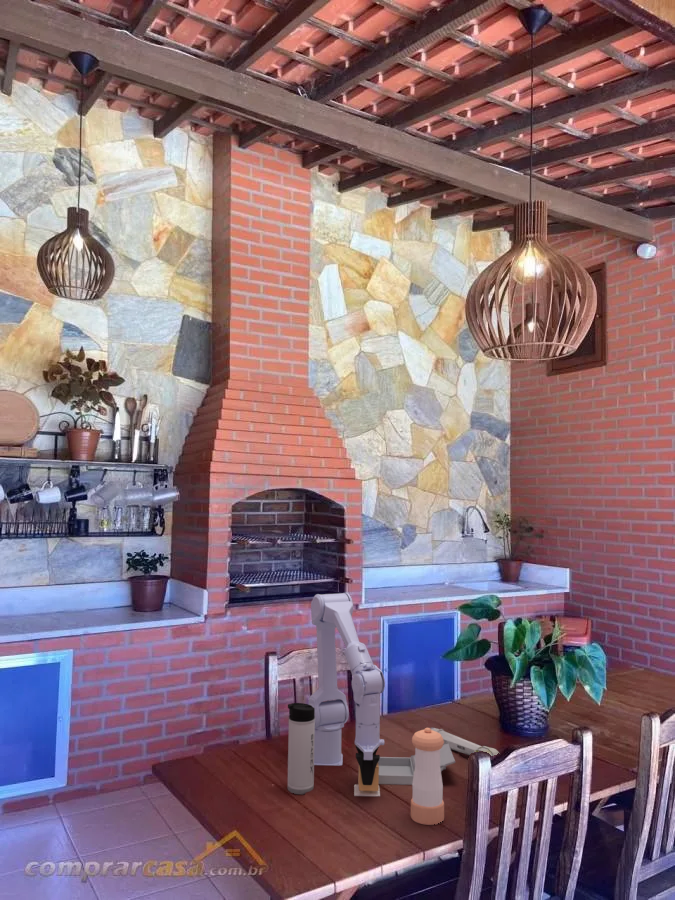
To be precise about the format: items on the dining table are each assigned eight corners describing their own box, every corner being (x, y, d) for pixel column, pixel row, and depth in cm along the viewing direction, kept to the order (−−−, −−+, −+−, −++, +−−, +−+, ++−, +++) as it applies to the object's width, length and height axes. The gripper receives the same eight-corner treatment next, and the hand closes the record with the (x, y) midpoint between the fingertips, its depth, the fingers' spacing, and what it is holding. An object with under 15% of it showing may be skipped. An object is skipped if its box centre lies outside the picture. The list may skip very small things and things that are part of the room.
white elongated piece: (436, 742, 202) (506, 767, 182) (420, 747, 198) (490, 773, 178) (436, 723, 202) (506, 746, 183) (420, 728, 198) (489, 752, 178)
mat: (354, 797, 163) (354, 795, 163) (354, 787, 169) (354, 784, 169) (380, 798, 163) (380, 795, 163) (379, 787, 169) (379, 785, 169)
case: (374, 787, 169) (375, 760, 169) (373, 766, 182) (373, 741, 182) (455, 788, 168) (456, 762, 169) (448, 768, 181) (448, 743, 182)
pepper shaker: (403, 816, 153) (404, 727, 155) (424, 806, 159) (425, 720, 160) (430, 828, 148) (430, 736, 149) (450, 817, 153) (451, 728, 155)
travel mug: (282, 786, 169) (284, 701, 170) (308, 782, 171) (310, 699, 172) (290, 796, 163) (292, 709, 164) (317, 792, 165) (318, 706, 166)
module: (359, 790, 163) (359, 764, 164) (358, 782, 168) (358, 757, 168) (378, 790, 163) (378, 765, 164) (377, 782, 168) (377, 757, 168)
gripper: (386, 732, 159) (385, 793, 158) (383, 712, 174) (382, 768, 173) (355, 731, 159) (354, 792, 159) (354, 711, 174) (354, 767, 173)
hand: (367, 780), depth 166 cm, fingers closed on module, 5 cm apart
